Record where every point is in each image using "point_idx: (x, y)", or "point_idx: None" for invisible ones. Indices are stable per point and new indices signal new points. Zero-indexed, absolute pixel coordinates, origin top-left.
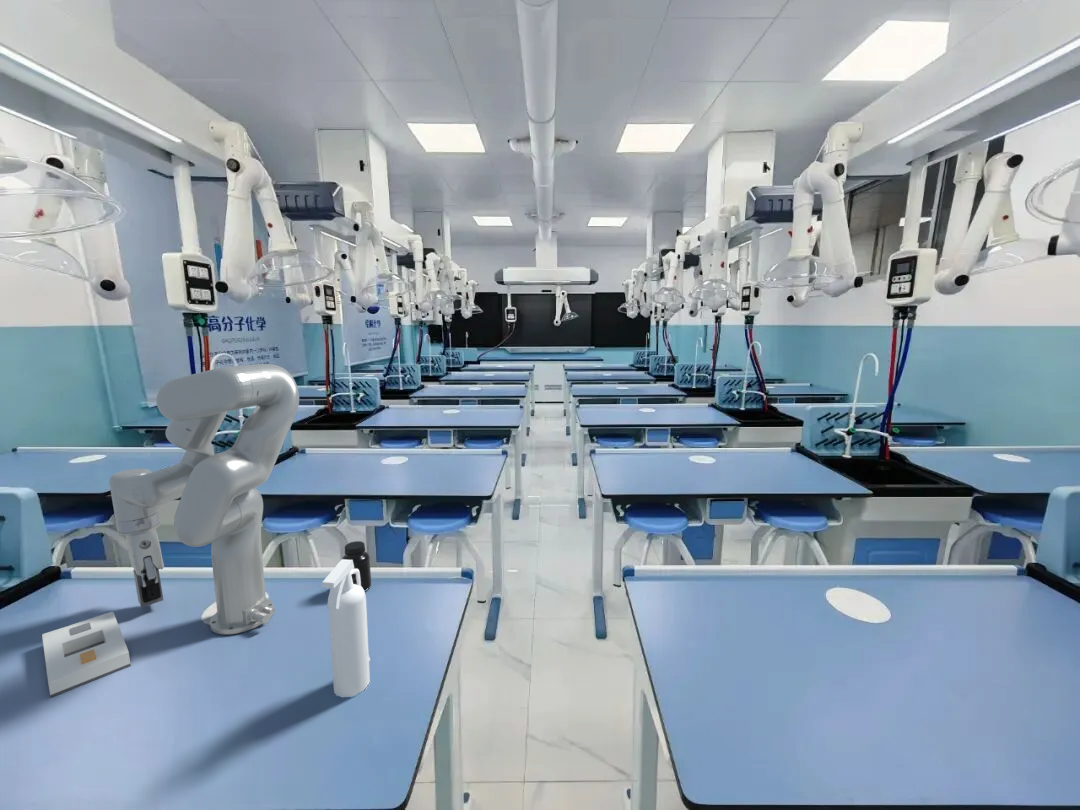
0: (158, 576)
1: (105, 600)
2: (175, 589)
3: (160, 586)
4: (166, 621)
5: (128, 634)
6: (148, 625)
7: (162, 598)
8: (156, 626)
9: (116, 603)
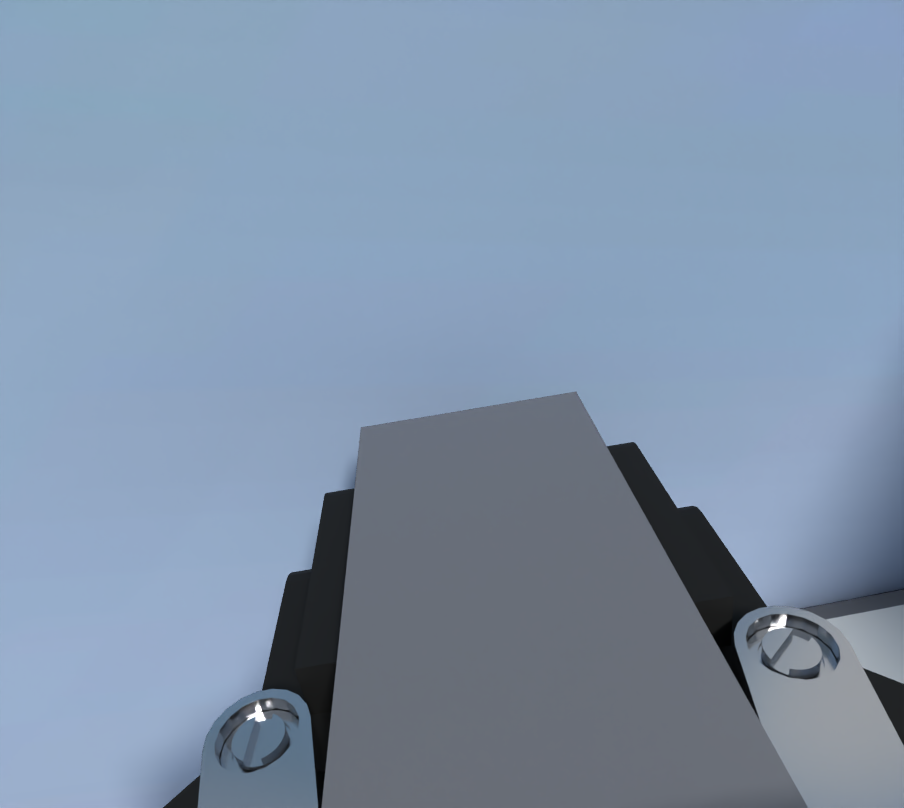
0: (716, 661)
1: (31, 756)
2: (88, 242)
3: (642, 512)
4: (832, 332)
5: (798, 568)
6: (775, 458)
7: (585, 410)
8: (851, 403)
9: (145, 688)
